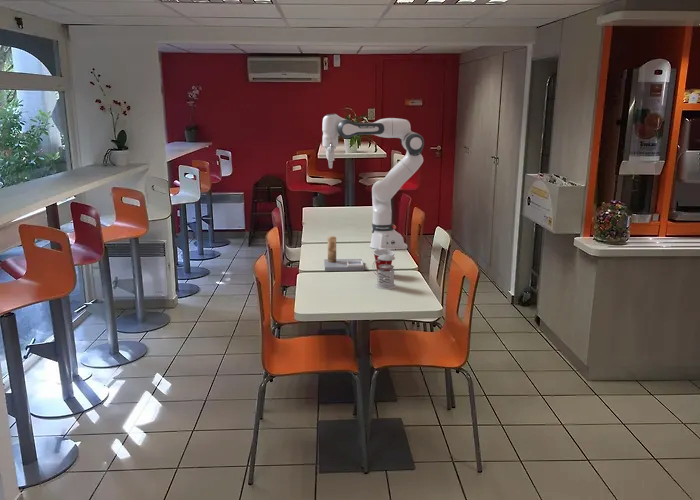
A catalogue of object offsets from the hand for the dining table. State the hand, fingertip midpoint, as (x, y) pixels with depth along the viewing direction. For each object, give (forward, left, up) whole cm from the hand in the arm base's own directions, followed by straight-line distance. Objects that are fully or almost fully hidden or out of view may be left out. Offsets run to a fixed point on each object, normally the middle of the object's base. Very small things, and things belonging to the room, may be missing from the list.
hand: (330, 167), depth 335 cm
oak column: (+1, +39, -45) cm, 60 cm away
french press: (-22, +77, -48) cm, 93 cm away
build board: (-5, +43, -47) cm, 64 cm away
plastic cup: (-24, +59, -48) cm, 80 cm away
